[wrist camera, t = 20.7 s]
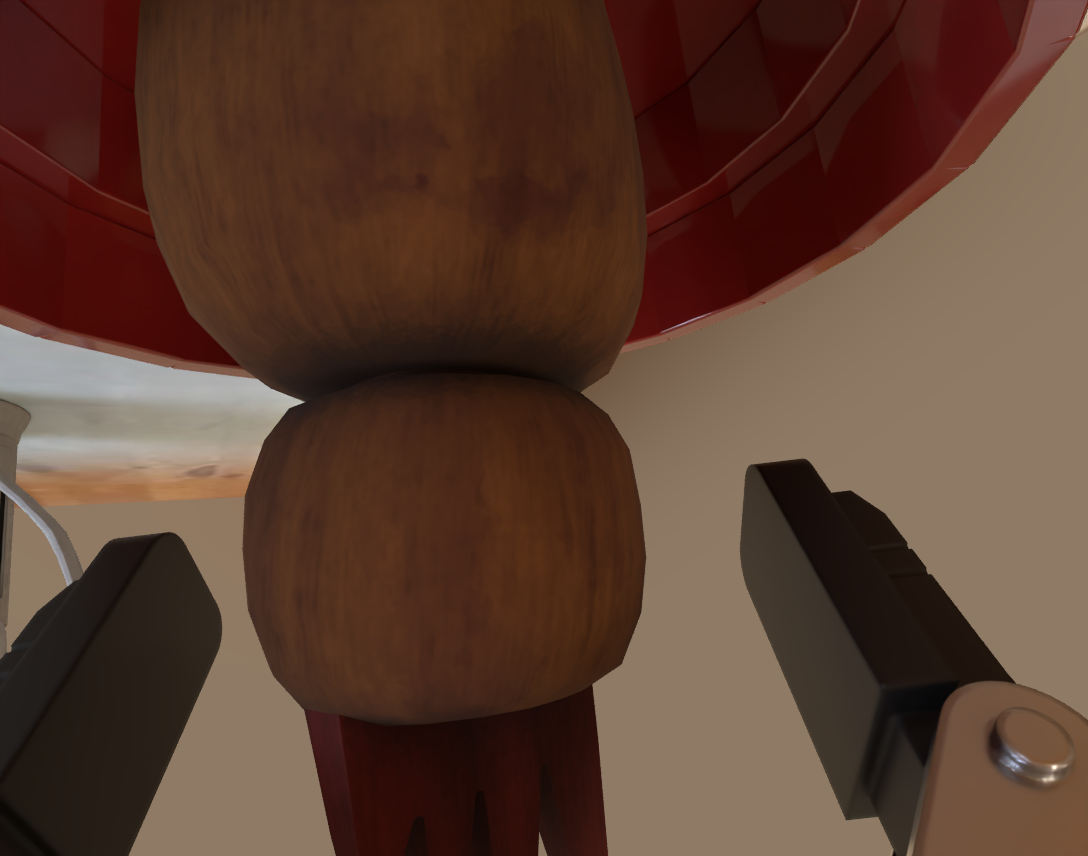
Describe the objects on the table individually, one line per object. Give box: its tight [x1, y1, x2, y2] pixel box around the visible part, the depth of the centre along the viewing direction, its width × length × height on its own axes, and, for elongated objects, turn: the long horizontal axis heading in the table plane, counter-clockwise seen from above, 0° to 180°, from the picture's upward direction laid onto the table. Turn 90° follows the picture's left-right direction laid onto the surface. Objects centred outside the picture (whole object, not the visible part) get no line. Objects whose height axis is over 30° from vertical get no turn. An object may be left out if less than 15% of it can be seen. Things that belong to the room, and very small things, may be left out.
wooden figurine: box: [134, 0, 647, 856], centre depth 8 cm, size 7×6×15 cm
